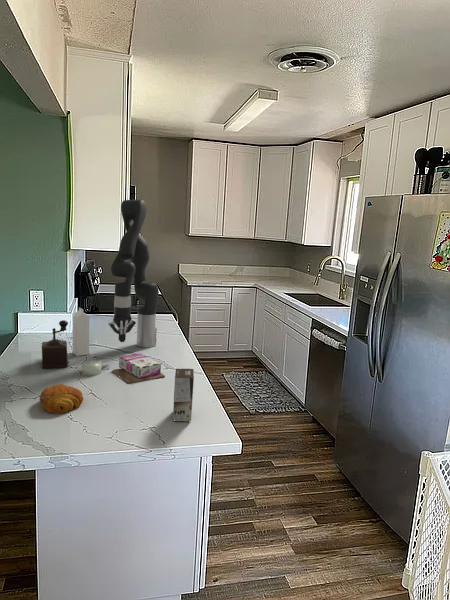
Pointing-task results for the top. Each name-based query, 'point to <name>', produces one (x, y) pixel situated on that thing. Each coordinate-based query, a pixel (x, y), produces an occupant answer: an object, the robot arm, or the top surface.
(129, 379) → the display board
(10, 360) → the top surface
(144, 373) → the candy bar box
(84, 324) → the milk
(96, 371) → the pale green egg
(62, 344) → the coffee grinder
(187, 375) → the coffee box
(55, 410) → the croissant
